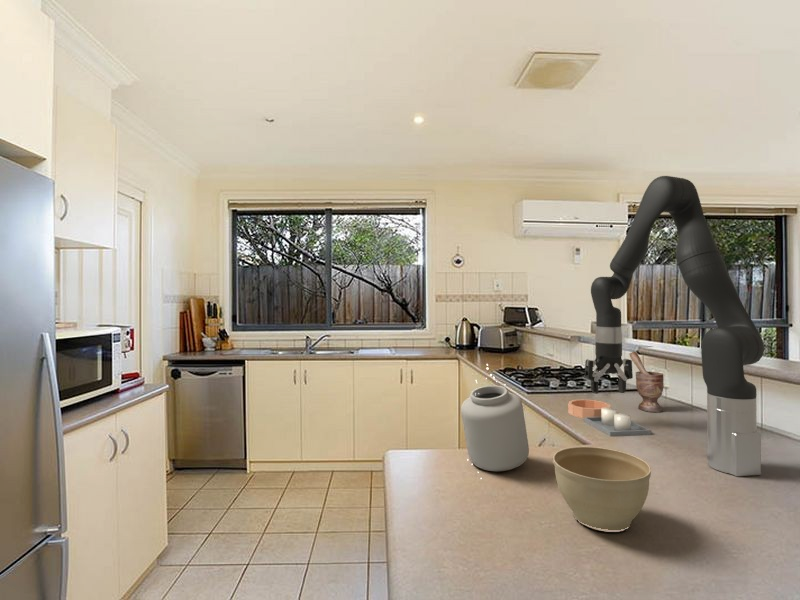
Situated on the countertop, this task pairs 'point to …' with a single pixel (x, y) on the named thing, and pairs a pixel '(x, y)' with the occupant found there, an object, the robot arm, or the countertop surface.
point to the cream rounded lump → (608, 416)
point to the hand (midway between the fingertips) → (608, 392)
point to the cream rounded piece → (622, 422)
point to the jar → (495, 428)
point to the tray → (610, 431)
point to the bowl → (586, 408)
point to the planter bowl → (602, 485)
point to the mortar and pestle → (648, 386)
